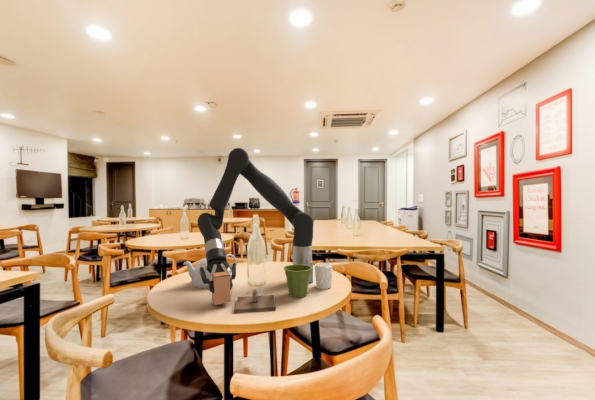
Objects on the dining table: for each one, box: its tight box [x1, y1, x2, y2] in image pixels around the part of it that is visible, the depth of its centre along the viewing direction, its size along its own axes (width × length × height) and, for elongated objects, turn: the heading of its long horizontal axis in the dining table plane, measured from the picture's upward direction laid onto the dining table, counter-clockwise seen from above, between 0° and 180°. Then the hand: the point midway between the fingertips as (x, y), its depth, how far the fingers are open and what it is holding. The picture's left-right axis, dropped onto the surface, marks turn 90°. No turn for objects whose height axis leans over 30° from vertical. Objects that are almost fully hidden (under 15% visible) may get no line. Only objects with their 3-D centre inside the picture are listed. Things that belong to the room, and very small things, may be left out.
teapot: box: [182, 253, 238, 289], centre depth 123 cm, size 19×18×14 cm
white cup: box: [314, 262, 333, 290], centre depth 116 cm, size 8×8×10 cm
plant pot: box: [282, 264, 312, 299], centre depth 106 cm, size 12×12×11 cm
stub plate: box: [234, 288, 277, 314], centre depth 96 cm, size 14×12×6 cm
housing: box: [211, 272, 231, 305], centre depth 96 cm, size 6×6×10 cm
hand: (222, 290), depth 95 cm, fingers closed on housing, 5 cm apart
